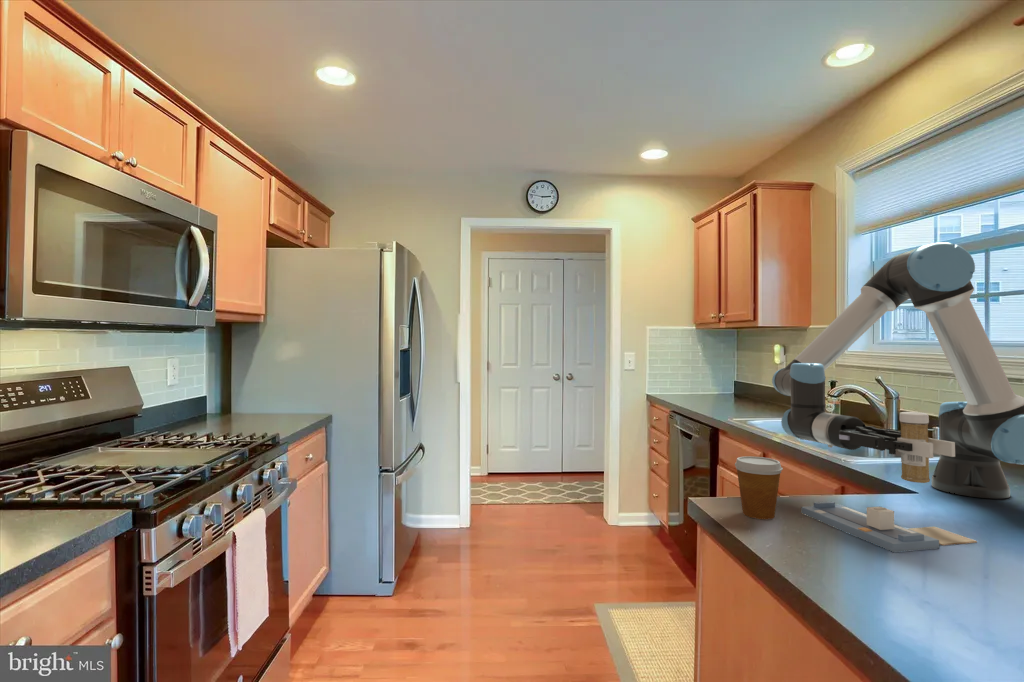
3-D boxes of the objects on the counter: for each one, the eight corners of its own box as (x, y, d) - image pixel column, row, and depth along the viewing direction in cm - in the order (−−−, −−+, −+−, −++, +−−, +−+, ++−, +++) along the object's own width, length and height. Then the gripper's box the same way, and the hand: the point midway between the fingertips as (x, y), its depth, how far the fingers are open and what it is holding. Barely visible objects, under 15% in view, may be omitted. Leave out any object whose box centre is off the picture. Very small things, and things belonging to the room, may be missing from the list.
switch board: (839, 511, 115) (839, 499, 115) (939, 548, 93) (938, 534, 93) (801, 513, 113) (801, 502, 113) (893, 552, 91) (893, 538, 91)
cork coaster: (934, 527, 104) (934, 526, 104) (976, 542, 96) (976, 540, 96) (901, 530, 102) (901, 529, 102) (942, 545, 94) (942, 543, 94)
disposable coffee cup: (726, 508, 116) (726, 456, 116) (766, 507, 117) (766, 455, 117) (749, 522, 107) (749, 465, 107) (792, 521, 107) (792, 464, 108)
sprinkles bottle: (933, 481, 100) (932, 412, 100) (924, 484, 97) (923, 414, 98) (905, 476, 104) (904, 410, 104) (896, 479, 101) (895, 412, 101)
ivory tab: (880, 523, 101) (880, 505, 101) (894, 528, 98) (894, 510, 98) (866, 524, 100) (866, 506, 101) (880, 529, 98) (880, 511, 98)
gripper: (871, 445, 120) (980, 467, 97) (807, 448, 116) (904, 472, 94) (871, 413, 120) (979, 428, 97) (807, 416, 117) (903, 431, 94)
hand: (942, 450), depth 95 cm, fingers closed on sprinkles bottle, 4 cm apart
